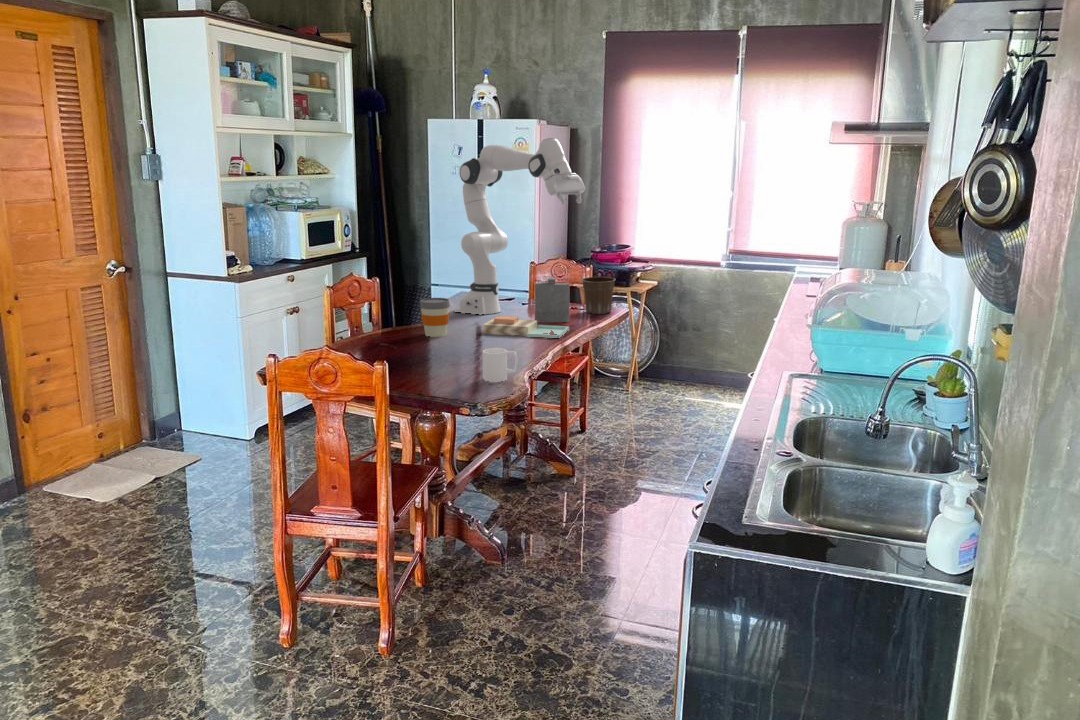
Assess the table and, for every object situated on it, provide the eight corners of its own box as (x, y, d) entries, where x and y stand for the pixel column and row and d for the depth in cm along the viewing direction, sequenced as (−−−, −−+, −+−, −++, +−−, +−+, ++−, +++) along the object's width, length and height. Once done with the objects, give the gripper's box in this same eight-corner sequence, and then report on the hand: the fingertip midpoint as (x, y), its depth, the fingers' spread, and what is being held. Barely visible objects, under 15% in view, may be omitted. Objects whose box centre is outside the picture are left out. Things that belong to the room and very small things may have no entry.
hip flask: (569, 321, 375) (570, 277, 370) (568, 323, 371) (568, 279, 366) (535, 320, 378) (535, 277, 373) (534, 322, 374) (533, 278, 369)
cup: (516, 382, 277) (516, 354, 274) (481, 382, 278) (480, 353, 275) (519, 376, 284) (519, 348, 282) (485, 375, 286) (484, 347, 283)
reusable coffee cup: (433, 330, 357) (431, 296, 353) (456, 333, 351) (455, 299, 347) (415, 336, 346) (413, 301, 343) (439, 339, 340) (437, 303, 337)
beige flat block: (483, 333, 350) (483, 324, 349) (493, 327, 363) (493, 318, 362) (528, 336, 345) (528, 327, 344) (537, 329, 358) (537, 320, 357)
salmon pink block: (494, 323, 352) (494, 318, 352) (498, 320, 358) (498, 315, 357) (514, 324, 350) (513, 319, 349) (518, 321, 355) (518, 316, 355)
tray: (526, 337, 343) (526, 333, 343) (538, 328, 360) (538, 324, 360) (559, 339, 340) (559, 335, 339) (569, 330, 356) (569, 326, 356)
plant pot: (586, 316, 386) (587, 282, 382) (577, 309, 401) (577, 277, 397) (619, 314, 390) (620, 281, 386) (608, 308, 405) (609, 276, 401)
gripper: (572, 176, 358) (583, 205, 356) (539, 177, 343) (551, 207, 342) (581, 169, 353) (593, 198, 352) (549, 170, 339) (561, 200, 337)
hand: (572, 203), depth 347 cm, fingers open, 8 cm apart
